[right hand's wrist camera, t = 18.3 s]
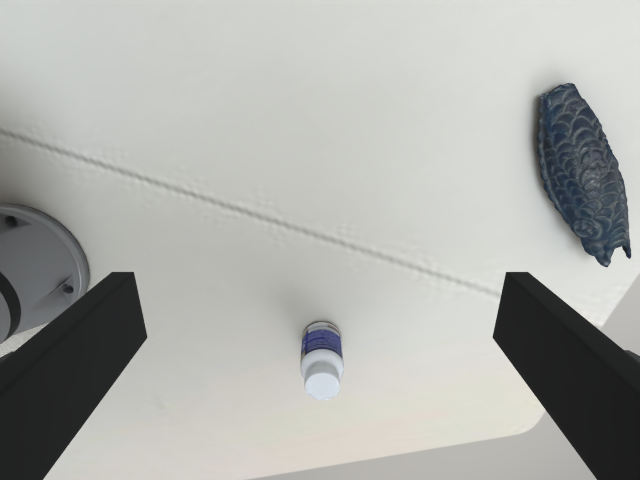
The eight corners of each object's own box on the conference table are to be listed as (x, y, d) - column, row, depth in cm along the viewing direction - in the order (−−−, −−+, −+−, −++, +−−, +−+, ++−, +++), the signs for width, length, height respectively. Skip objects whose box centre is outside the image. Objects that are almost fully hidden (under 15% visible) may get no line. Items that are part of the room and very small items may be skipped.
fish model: (565, 266, 44) (594, 285, 39) (511, 107, 38) (539, 107, 33) (619, 242, 43) (656, 258, 38) (574, 74, 37) (612, 69, 32)
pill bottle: (297, 325, 47) (293, 372, 39) (336, 317, 47) (339, 363, 39) (308, 357, 49) (305, 408, 41) (345, 349, 49) (350, 399, 40)
